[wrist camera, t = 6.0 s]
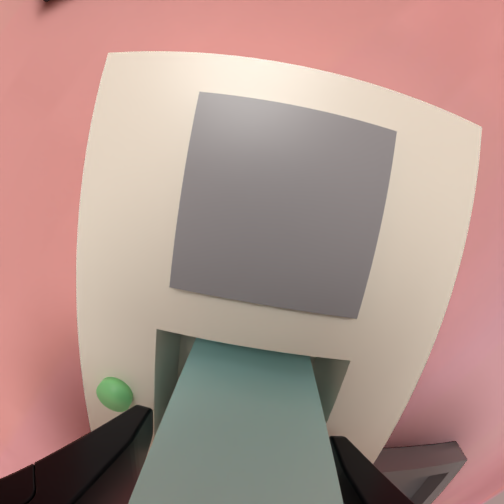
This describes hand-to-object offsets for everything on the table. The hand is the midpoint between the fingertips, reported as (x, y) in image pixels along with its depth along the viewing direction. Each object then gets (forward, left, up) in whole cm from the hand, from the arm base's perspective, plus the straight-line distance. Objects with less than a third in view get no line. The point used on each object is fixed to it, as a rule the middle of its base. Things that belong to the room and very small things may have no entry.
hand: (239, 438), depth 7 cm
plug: (0, 0, -4) cm, 4 cm away
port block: (0, -2, -4) cm, 5 cm away
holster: (-9, +8, -4) cm, 12 cm away
